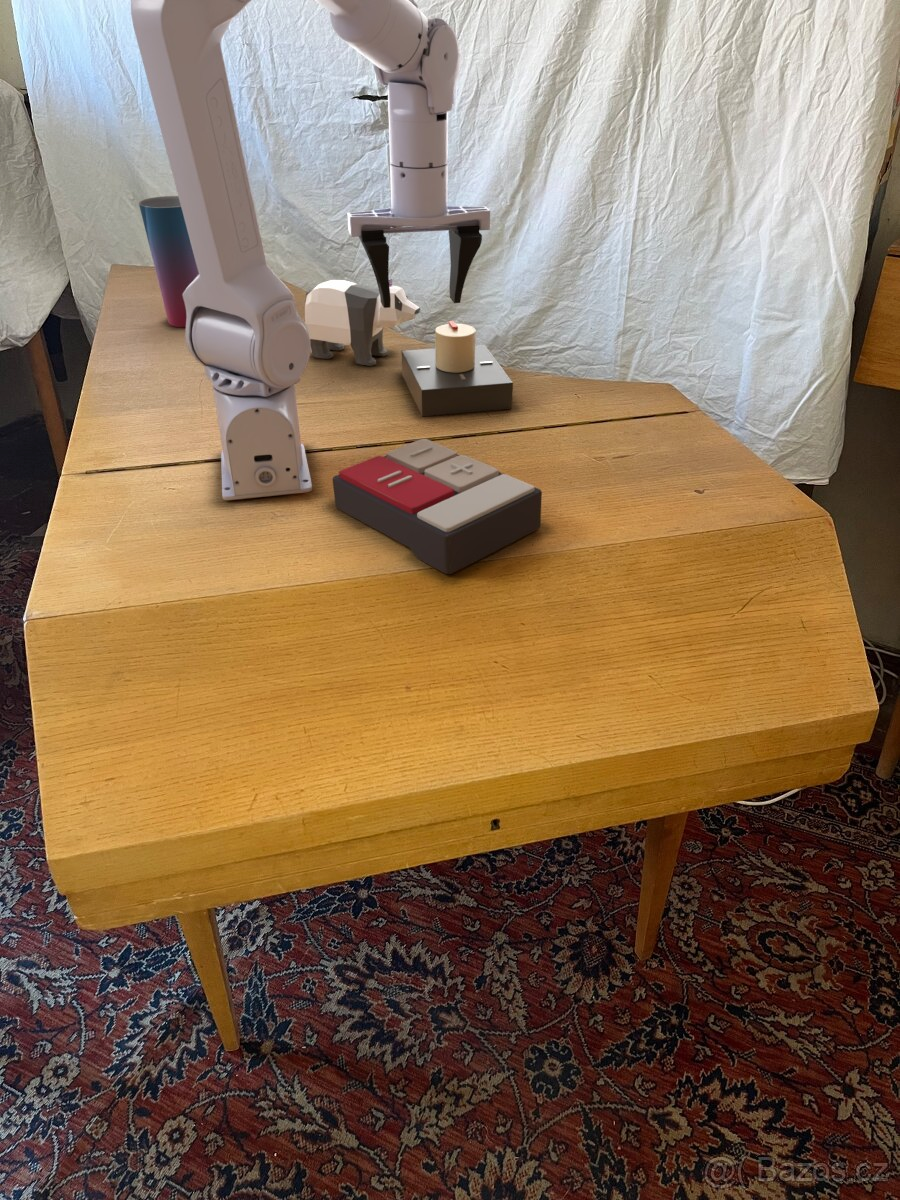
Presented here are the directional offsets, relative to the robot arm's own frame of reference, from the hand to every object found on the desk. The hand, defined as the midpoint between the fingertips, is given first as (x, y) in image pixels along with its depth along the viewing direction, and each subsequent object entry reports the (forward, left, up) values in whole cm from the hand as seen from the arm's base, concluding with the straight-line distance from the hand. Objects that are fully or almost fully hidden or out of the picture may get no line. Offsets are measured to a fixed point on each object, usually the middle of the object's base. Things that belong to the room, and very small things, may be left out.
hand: (420, 302), depth 93 cm
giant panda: (+11, +6, -10) cm, 16 cm away
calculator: (-29, +5, -10) cm, 31 cm away
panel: (-2, -3, -10) cm, 10 cm away
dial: (-2, -3, -6) cm, 8 cm away
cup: (+29, +27, -10) cm, 40 cm away
